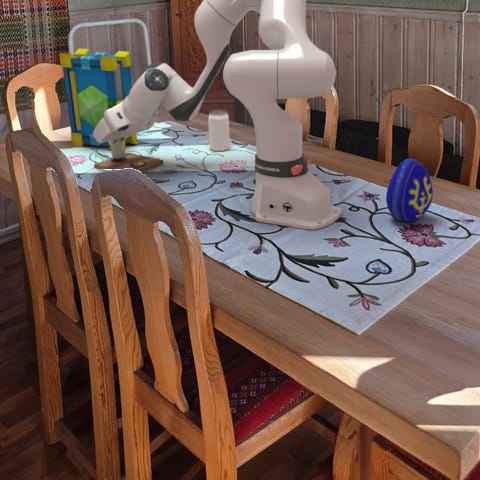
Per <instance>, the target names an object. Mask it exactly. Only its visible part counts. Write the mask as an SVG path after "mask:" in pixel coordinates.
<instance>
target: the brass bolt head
mask: <svg viewBox="0 0 480 480" xmlns="http://www.w3.org/2000/svg"><path fill="white" fill-rule="evenodd" d="M133 165H134V166H141V165H143V162H135V163H133Z"/></svg>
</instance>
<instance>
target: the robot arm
mask: <svg viewBox="0 0 480 480" xmlns="http://www.w3.org/2000/svg"><path fill="white" fill-rule="evenodd" d="M250 11H255V13H257V16H258V17H259V19H258V20H259V22H258V23H259V24H258V33H259V34H258V35H259V37H260V39H261V41H262V42H263V44H264V45H265V46H267V48H268V49H250V50H244V51H240V52H236V53H232V54H231V55H230V53H231V51H232V48H231V45H230V41H231V36H232V34H233V31H234V30H235V28H236V27H237V26H238V24H239V23H240V22H241V21H242V19H243V18H244V17H245V15H246V14H247V13H248V12H250ZM306 12H307V0H202V2H201V3H200V5H199V6H198V7H197V9H196V11H195V12H194V19H193V22H194V29H195V33H196V35H197V37H198V40H200V43H201V46H202V47H203V50H204V52H205V54H206V55H205V56H206V65H205V66H204V69H203V71H202V73H200V75H199V77H198V79H197V80H196V82H195V84H194V86H193V87H192V86H191V85H190V84H188V82H186V81H185V80H184V79H183V78H182V77H181V76H180V75H179V74H178V73H177V71H175V70H174V69H173V68H172V67H171V66H170V65H169V64H167V63H166V62H153V63H150V64H149V65H147V66H146V67H145V68H144V69H143V70H142V71H141V72H140V73H139V75H138V77H137V79H136V81H135V83H134V84H133V85H132V88H131V90H130V94H129V95H128V96H127V97H126V98H125V99H124V101H122V102H120V103H119V104H118V105H116V106H114V107H112V108H110V109H108V110H106V111H105V112H104V118H102V119H101V120H100V122H99V123H98V125H97V126H96V128H95V130H94V132H93V135H94V137H95V139H96V140H97V142H98V143H100V144H101V143H104V142H108V143H109V144H110V145H112V144H115V142H116V140H115V139H118V138H122V139H121V142H122V141H125V140H126V139H127V138H128V137H129V136H131V135H132V134H135V133H137V134H138V133H139V134H140V133H141V132H144V131H148V130H150V129H151V128H152V127H153V126H154V124H155V123H156V121H157V118H158V114H159V112H160V109H159V106H161V107H163V108H164V109H165V110H166V111H167V113H168V114H169V116H171V117H172V119H174V121H176V122H185V123H186V122H190V121H191V120H192V119H193V118H195V117H196V116H197V114H198V113H199V112H200V109H201V107H202V104H203V102H204V100H205V98H206V97H207V95H208V93H209V92H210V90H211V88H212V86H213V84H214V83H215V81H216V79H217V78H218V76H219V74H220V72H221V71H222V70H223V73H222V77H223V82H224V86H225V88H226V89H227V91H228V92H229V93H230V94H231V95H232V96H233V97H235V98H236V99H237V100H239V102H241V104H242V105H243V106H244V107H245V108H246V109H247V111H248V113H249V115H250V117H251V120H252V122H253V125H254V132H255V133H254V134H255V144H256V150H255V151H256V154H255V155H254V170H255V174H256V175H255V176H256V177H255V188H254V194H253V200H252V204H251V207H250V211H251V213H252V214H253V215H254V217H255V218H254V219H255V221H256V222H259V223H267V224H271V225H277V226H278V225H279V226H286V227H291V228H298V229H303V230H304V229H305V230H309V231H310V230H312V231H314V230H318V229H322V228H325V227H328V226H329V225H331V224H333V223H334V222H336V221H337V220H338V219H340V217H341V215H342V209H341V208H340V207H338V206H335V205H333V201H332V195H331V191H330V189H329V188H328V187H327V186H326V185H325V184H324V183H323V182H321V181H320V180H319V179H318V178H317V177H316V176H315V175H314V174H313V173H312V172H310V170H309V166H310V165H312V164H313V163H312V161H313V159H312V158H311V159H309V160H306V158H305V155H304V154H303V125H302V123H301V121H300V120H299V118H298V117H297V116H295V115H293V114H292V113H290V112H287V111H286V110H284V109H282V107H280V106H279V104H278V103H277V100H279V99H280V100H283V99H285V100H286V99H287V100H289V99H291V100H292V99H293V100H294V99H295V100H296V99H297V100H301V99H302V100H308V99H312V98H317V97H322V96H327V94H328V93H329V92H330V91H331V89H332V88H333V87H334V84H335V81H336V76H337V71H336V69H337V68H336V66H335V62H334V61H333V58H332V57H331V56H330V55H329V54H328V53H327V52H326V51H323V50H322V49H320V48H319V47H318V46H316V45H315V44H314V43H313V42H312V41H311V39H310V37H309V35H308V33H307V21H306V20H307V17H306V16H307V13H306Z"/></svg>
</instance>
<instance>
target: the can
mask: <svg viewBox="0 0 480 480" xmlns="http://www.w3.org/2000/svg"><path fill="white" fill-rule="evenodd" d="M208 114H209V115H208V119H207V120H208V123H207V124H208V139H209V141H208V142H209V149H210V151H212V152H219V153H220V152H226V151H229V149H230V147H231V144H230V116H229V113H228V111H227V110H225V109H213V110H210V111H209V113H208Z"/></svg>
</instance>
